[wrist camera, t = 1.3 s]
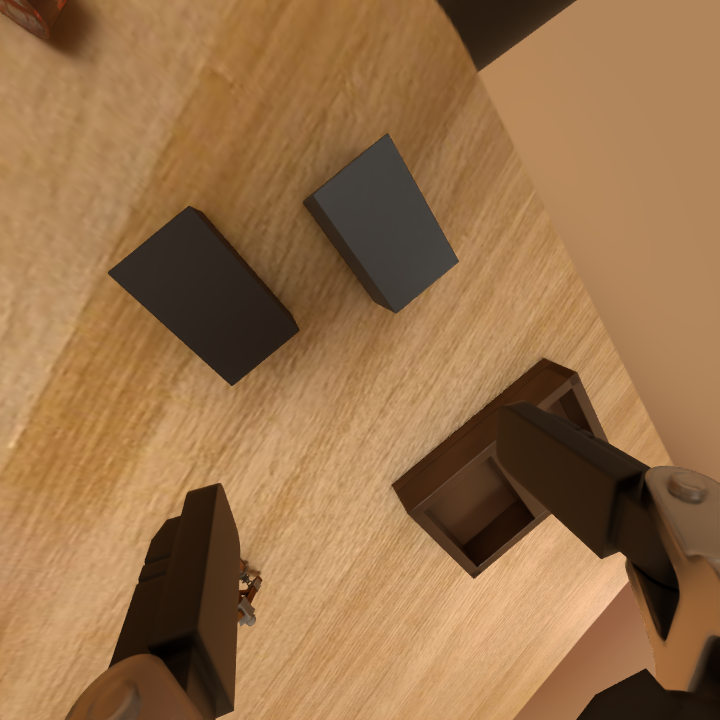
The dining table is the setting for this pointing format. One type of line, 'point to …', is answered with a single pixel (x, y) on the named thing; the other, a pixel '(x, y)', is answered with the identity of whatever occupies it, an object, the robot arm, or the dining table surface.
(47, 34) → the tin
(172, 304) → the dark brown rectangular block
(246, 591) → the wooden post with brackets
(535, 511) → the divided wooden tray
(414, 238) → the pad
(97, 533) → the dining table surface
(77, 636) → the dining table surface
